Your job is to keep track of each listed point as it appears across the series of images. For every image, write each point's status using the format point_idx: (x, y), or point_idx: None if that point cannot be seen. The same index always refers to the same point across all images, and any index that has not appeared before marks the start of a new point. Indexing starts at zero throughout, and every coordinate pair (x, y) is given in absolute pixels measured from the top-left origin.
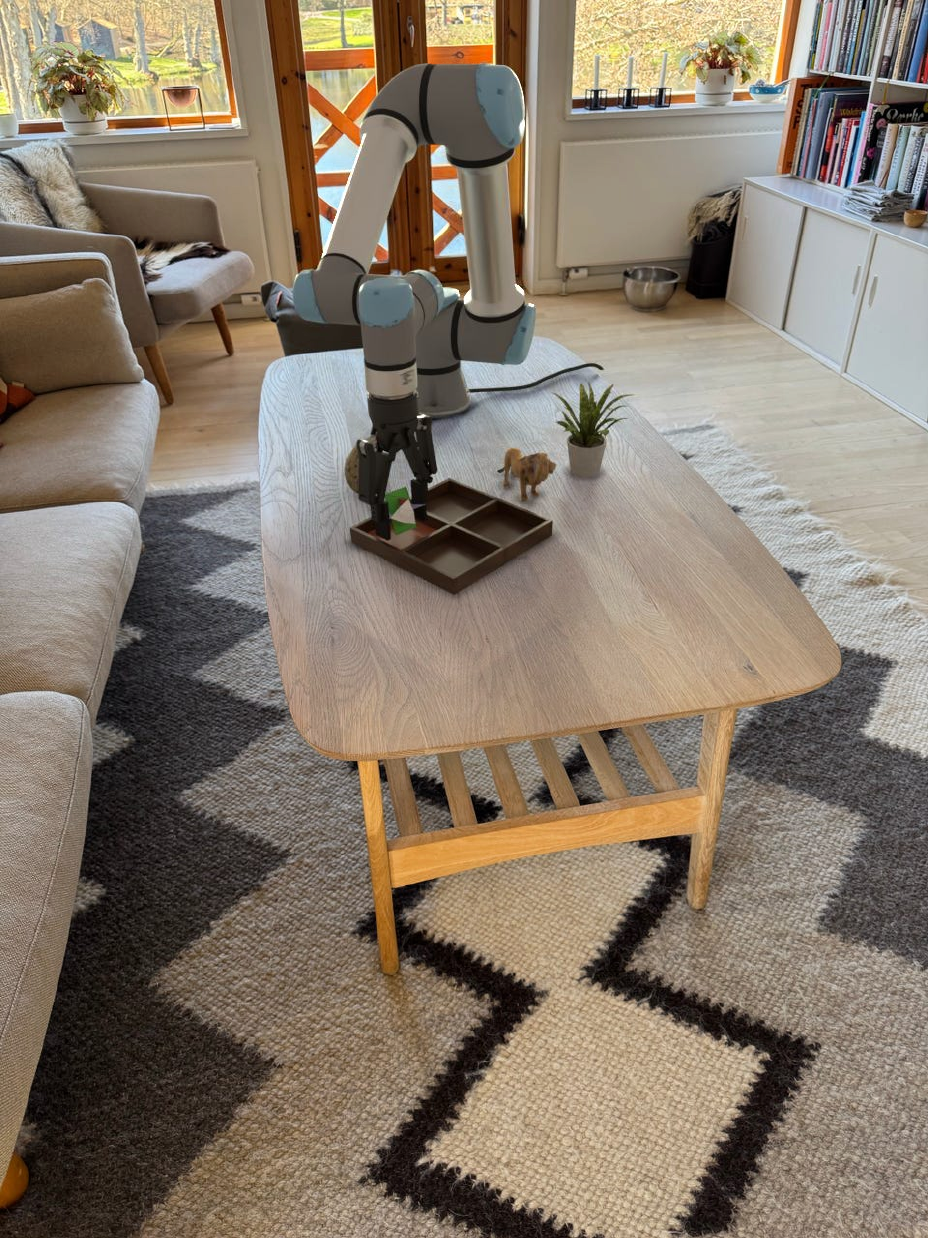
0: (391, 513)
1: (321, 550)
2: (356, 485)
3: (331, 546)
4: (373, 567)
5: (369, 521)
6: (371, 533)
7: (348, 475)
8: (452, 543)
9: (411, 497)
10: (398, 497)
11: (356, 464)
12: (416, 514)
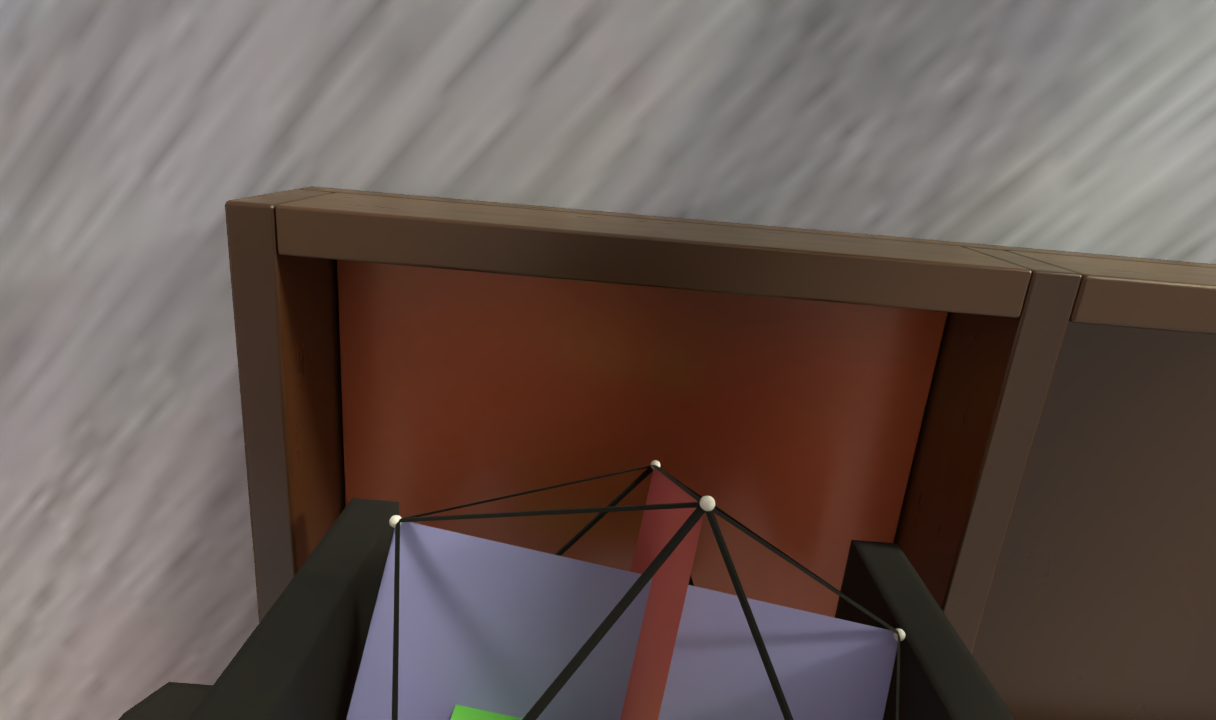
0: (478, 715)
1: (26, 51)
2: None
3: (140, 77)
4: (204, 577)
5: (494, 269)
6: (488, 288)
7: None
8: None
9: (939, 709)
10: None
11: None
12: (851, 618)
